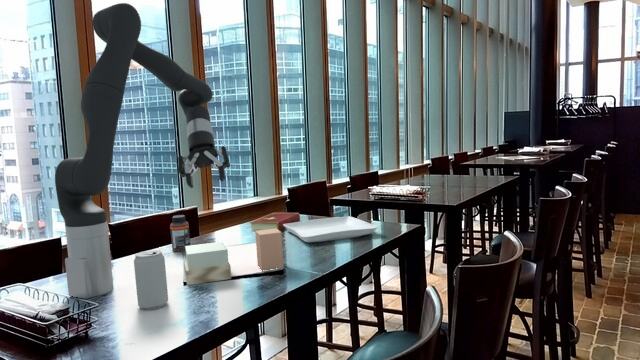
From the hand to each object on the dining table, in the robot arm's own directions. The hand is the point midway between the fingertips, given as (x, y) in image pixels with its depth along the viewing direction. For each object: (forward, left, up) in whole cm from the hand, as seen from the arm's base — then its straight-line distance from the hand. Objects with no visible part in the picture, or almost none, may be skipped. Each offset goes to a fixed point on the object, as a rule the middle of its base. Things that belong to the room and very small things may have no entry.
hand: (206, 183), depth 134 cm
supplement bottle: (+16, +23, -24) cm, 37 cm away
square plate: (+46, -18, -24) cm, 55 cm away
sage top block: (-8, -4, -20) cm, 22 cm away
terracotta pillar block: (+3, -17, -24) cm, 29 cm away
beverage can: (-30, -5, -24) cm, 39 cm away
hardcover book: (+57, +9, -25) cm, 63 cm away
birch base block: (-8, -4, -24) cm, 26 cm away
